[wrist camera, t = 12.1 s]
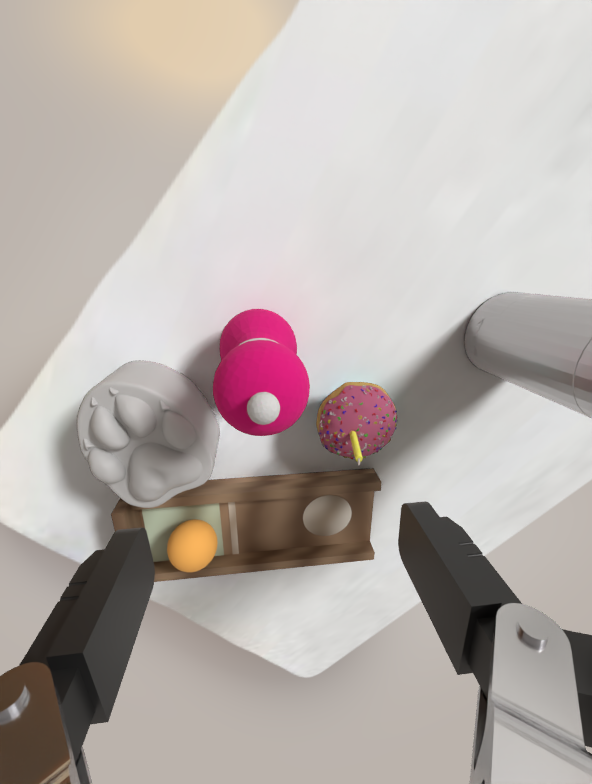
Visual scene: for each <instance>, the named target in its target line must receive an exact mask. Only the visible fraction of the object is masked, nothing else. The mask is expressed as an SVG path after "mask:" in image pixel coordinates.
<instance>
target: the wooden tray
mask: <svg viewBox="0 0 592 784" xmlns="http://www.w3.org/2000/svg"><path fill="white" fill-rule="evenodd" d="M374 491H381V481H380V479H379V477H378V476H377V474H376V472H375V471H374V469H373V468H372V469H358V470H344V471H330V472H316V473H302V474H287V475H273V476H259V477H245V478H231V479H217V480H207V481H206V482H205V483H204V484H202V485H201V486H198V487H196V488H193V489H190V490H186V491H183V492H181V493H179V494H177V495H175V496H173V497H172V498H171V499H169V500H168V501H166V502H165V503H163V504H161V505H159V506H157V507H153V508H142V507H137V506H133V505H130V504H128V503H126V502H125V501H124V500H122V499H121V498H120V500H119V502H118V503H117V505H116V507H115V508H114V510H113V512H112V514H111V516H112V520H113V525H114V529H115V531H117V530H121V529H131V528H142V527H143V528H145V529H146V531H147V535H148V540H149V544H150V548H151V553H152V557H153V562H154V567H155V579H154V582H158V581H168V580H177V579H187V578H197V577H207V576H217V575H226V574H236V573H246V572H256V571H266V570H275V569H285V568H295V567H305V566H315V565H324V564H334V563H344V562H354V561H364V560H373V559H374V553H375V552H374V550H373V548H372V545H371V543H370V531H371V520H372V509H373V498H374ZM193 519H197V520H202V521H205V522H207V523H208V524H210V525H211V526H212V528H213V529H214V531H215V533H216V535H217V541H218V544H217V550H216V553H215V556H214V557H213V559H212V561H211V562H210V563H209V564H208V565H207V566H206V567H204V568H203V569H201V570H199V571H196V572H183V571H180V570H178V569H177V568H175V567H174V566H173V565H172V563H171V562H170V560H169V558H168V554H167V544H168V540H169V538H170V535H171V534H172V532H173V531H174V530H175V528H176V527H177V526H179V525H180V524H181V523H183V522H185V521H188V520H193Z"/></svg>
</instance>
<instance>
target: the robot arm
mask: <svg viewBox="0 0 592 784" xmlns="http://www.w3.org/2000/svg"><path fill="white" fill-rule="evenodd" d="M465 349H466V353H467V355H468V358H469V359H470V361H471V362H472V363H473V364H474V365H475V366H476V367H478V368H480V369H482V370H484V371H486V372H488V373H491V374H493V375H495V376H497V377H499V378H502V379H504V380H506V381H508V382H510V383H513V384H515V385H517V386H519V387H522V388H524V389H526V390H529V391H531V392H533V393H535V394H538V395H540V396H542V397H544V398H547V399H549V400H551V401H554V402H556V403H558V404H560V405H563V406H565V407H567V408H569V409H572V410H574V411H576V412H579V413H581V414H583V415H585V416H588V417H590V418H592V299H583V298H572V297H561V296H551V295H541V294H530V293H519V292H506V293H502V294H498V295H496V296H494V297H492V298H490V299H489V300H487V301H486V302H484V303H483V304H482V305H481V306H480V307H479V308H478V309H477V310H476V312H475V313H474V315H473V316H472V317H471V319H470V322H469V324H468V326H467V330H466V333H465ZM398 545H399V552H400V556H401V559H402V562H403V564H404V566H405V568H406V570H407V572H408V574H409V576H410V578H411V580H412V582H413V584H414V586H415V588H416V591H417V593H418V595H419V597H420V599H421V601H422V603H423V605H424V607H425V609H426V611H427V613H428V615H429V617H430V619H431V621H432V623H433V625H434V627H435V629H436V631H437V633H438V635H439V638H440V640H441V642H442V644H443V646H444V648H445V650H446V652H447V654H448V656H449V658H450V660H451V662H452V664H453V666H454V668H455V670H456V672H457V674H458V675H460V674H467V673H473V674H474V675H475V677H476V679H477V681H478V683H479V685H480V686H479V692H478V700H477V710H476V721H475V732H474V742H473V754H472V764H471V775H470V783H469V784H592V754H591V753H589V752H587V751H586V748H585V746H589V747H592V635H588V634H582V633H576V632H572V631H567V630H563V629H561V628H560V626H559V625H558V624H556V622H554V621H553V620H552V619H551V618H550V617H548V616H547V615H546V614H544V613H543V612H540V611H539V610H537V609H535V608H533V607H530V606H527V605H524V604H522V603H521V602H520V601H519V599H518V598H517V597H516V596H515V594H514V593H513V592H512V590H511V589H510V588H509V587H508V585H507V584H506V583H505V582H504V580H503V579H502V578H501V576H500V575H499V574H498V573H497V571H496V570H495V569H494V567H493V566H492V565H491V564H490V562H489V561H488V560H487V559H486V557H485V556H483V555H482V552H481V551H480V550H479V548H478V547H477V546H476V545H475V544H473V541H472V539H471V538H470V537H469V536H468V534H467V533H466V532H465V531H464V529H463V528H462V527H461V526H459V525H458V524H456V523H455V522H454V521H452V520H451V519H449V518H448V517H439V516H438V514H437V513H436V512H435V510H434V509H433V508H432V506H431V505H430V504H429V503H428V502H416V503H405V504H403V505H402V508H401V518H400V529H399V539H398ZM154 579H155V567H154V562H153V557H152V553H151V548H150V544H149V540H148V535H147V531H146V529H145V528H143V527H142V528H131V529H121V530H117V531H115V533H114V534H113V536H112V538H111V539H110V541H109V543H108V545H107V547H106V549H105V550H96V551H95V552H94V553H93V554H92V555H91V556H90V557H89V558H88V559H87V560H85V561H84V562H83V563H82V564H81V565H80V566H79V568H78V570H77V571H76V573H75V575H74V576H73V578H72V580H71V581H70V583H69V587H67V588H66V590H65V591H64V593H63V594H62V596H61V599H60V602H58V603H57V604H56V606H55V608H54V609H53V611H52V613H51V614H50V616H49V618H48V619H47V621H46V622H45V624H44V626H43V627H42V629H41V631H40V632H39V634H38V636H37V637H36V639H35V641H34V642H33V644H32V645H31V647H30V649H29V651H28V652H27V654H26V655H25V657H24V659H23V660H22V662H21V663H20V665H19V666H17V667H15V668H13V669H11V670H9V671H7V672H6V673H4V674H3V675H1V676H0V784H92V780H91V777H90V773H89V769H88V765H87V761H86V757H85V753H84V750H83V747H82V745H83V742H84V740H85V737H86V734H87V731H88V729H89V726H90V724H97V723H104V722H108V721H109V717H110V715H111V712H112V708H113V705H114V703H115V699H116V697H117V694H118V691H119V687H120V684H121V681H122V679H123V676H124V673H125V670H126V667H127V664H128V661H129V658H130V655H131V652H132V649H133V645H134V643H135V640H136V637H137V634H138V631H139V628H140V625H141V621H142V619H143V616H144V612H145V610H146V607H147V604H148V601H149V598H150V595H151V592H152V589H153V585H154Z"/></svg>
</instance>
